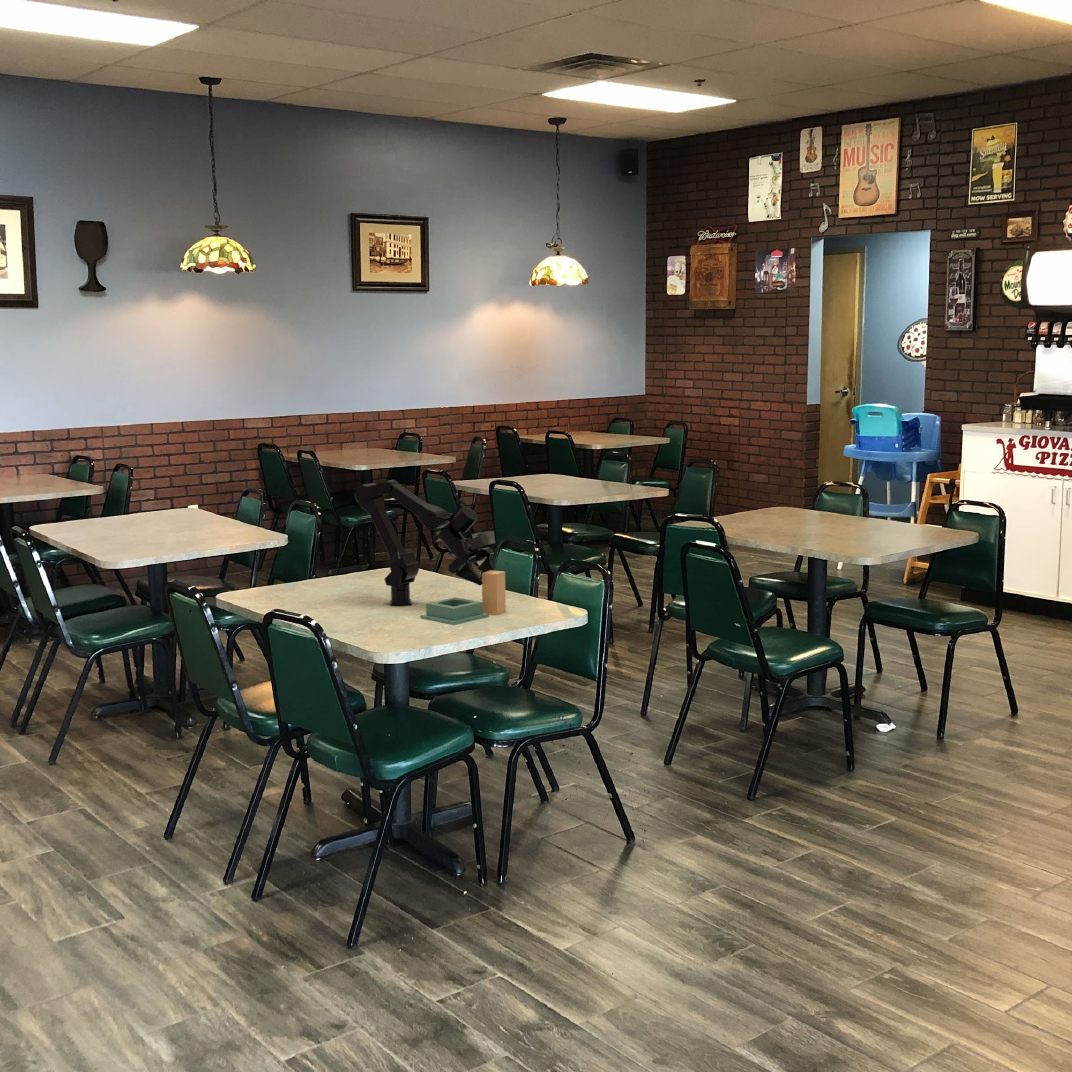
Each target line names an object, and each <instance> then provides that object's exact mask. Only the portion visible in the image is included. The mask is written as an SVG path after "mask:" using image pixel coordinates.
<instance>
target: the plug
mask: <svg viewBox="0 0 1072 1072" xmlns="http://www.w3.org/2000/svg"><path fill="white" fill-rule="evenodd" d="M481 581H482V583H483V584H482V585H481V591H482V592H481V594H482V595H481V597H482V599H481V602H482V605H483V613H486V614H489V615H496V616H498V615H501V614H503V613H506V612H507V611H506V607H507V606H506V605H507V604H506V599H507V598H506V571H503V570H502V571H501V570H500V571H499V570H495V571H492V570H490V571H487V572H484V573H483V572H482V573H481Z"/></svg>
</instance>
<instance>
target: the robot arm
mask: <svg viewBox="0 0 1072 1072" xmlns="http://www.w3.org/2000/svg"><path fill="white" fill-rule="evenodd" d="M355 489H356V490H355V492H354V497H355V500H356V502H357V503H358V504H359V505H360V507H361V509H363V510H364V511H366V513H368V515H369V516H370V518H371V520H372V522H373V524H374V526H375V529H376V531H377V533H378V535H379V537H380V539H381V541H382V543H383V545H384V547H385V549H386V551H387V553H388V557H389V558H388V559H389V561H388V562H389V564H388V566H389V569H390V572H389V573H388V574H387V575H386V577H384V582H385V585H386V586H387V587H390V598H391V599H390V600H389V605H390V606H411V605H412V599H411V594H410V593H411V591H410V587H411V586H410V584H411V583H414V582H415V580H416V577H417V575H418V574H419V570H420V567H419V561H418V559H417V558H416V555H415V553H414V551H410V552H408V551H407V550H406V549H405V548H404V546H403V544H402V542H401V540H400V538H399V536H398V534H397V532H396V530H395V527H394V526H393V525H394V524H393V523H392V521H391V520H390V517H389V514H388V513H387V511H386V510H387V509H386V508H385V496H389V497H390V498H392V499H394V500H395V501H396V502H397V503H399V504H400V505H402V506H403V507H404V508H406V509H407V510H409V511H410V512H412V513H413V514H414V515H415V516H416V517H417V519H418V521H419V522H420V524H422V525H423V526H424V528H426V529H427V530H430V531H431V530H432V531H433V530H436V529H437V530H438V529H440V530H438V531H437V532H434V533H433V540H432V541H433V542H434V543H437V542H442V543H443V544H444V545H445V547H446V548H447V549H448V550H449V551H448V554H449V555H450V556H454V557H455V558H454V559H452V561H451V562H450V563H449V564H448V565H447V569H448V570H447V571H448V572H449V573H450V574H451V575H452V576H454V575H455V576H456V577H459V578H462V579H464V580H466V581H469V582H471V583H473V584H474V585H475V584H476V585H478V586H481V587H482V584H483V583H482V578H480V576H479V575H478V574H477V572H476V571H475V570H474V568H473V565H474V566H475V567H477V570H478V571H480V572H482V573H484V572H487V571H490V570H492V571H496V569H495V567H494V564H493V558H494V554H495V551H494V550H493V549H492V547H485V548H482V547H484V546H488V545H490V539H491V537H490V536H489V535H488V534H487V533H485V531H484V532H481V533H478V534H477V536H475V537H473V538H470V537H469V538H465V536H464V535H463V534H462V533H467V532H468V531H469V530H470V528H471V527H472V526H473V525H474V524H475V523H476V521H477V520H478V519H479V516H478V514H477V512H476V511H475V510H473V509H472V508H470V507H469V506H466V505H465V504H464V503H460V504H458V506H457V507H456V509H455V510H454V511H453V512H452V513H450V512H448V511H446V510H445V509H444V508H441V507H440V506H437V505H433V504H431V503H428V502H426V501H424V500H423V499H422V498H420V497H418V496H417V495H415V494H414V493H413V492H411V491H410V490H408V489H407V488H406V487H404V486H403V485H401V484H400V483H399V481H397V480H396V479H391V480H385V481H382V482H381V483H367V484H362V485H361V484H360V485H358V486H357V487H356V488H355ZM481 548H482V549H481Z"/></svg>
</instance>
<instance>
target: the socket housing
mask: <svg viewBox="0 0 1072 1072" xmlns="http://www.w3.org/2000/svg"><path fill="white" fill-rule="evenodd" d="M425 605H426V607H425V612H426V613H425V614H420V615H419V618H420V619H424V620H427V621H432V622H438V623H442V624H443V623H444V624H448V625H453V626H454V625H459V624H463V623H468V622H472V621H477V620H480V619H484V618H489V617H490V614H486V613H483V605H482V601H479V600H478V601H477V600H472V599H466V598H460V597H451V598H445V599H441V600H436V601H431V602H426V604H425Z"/></svg>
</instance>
